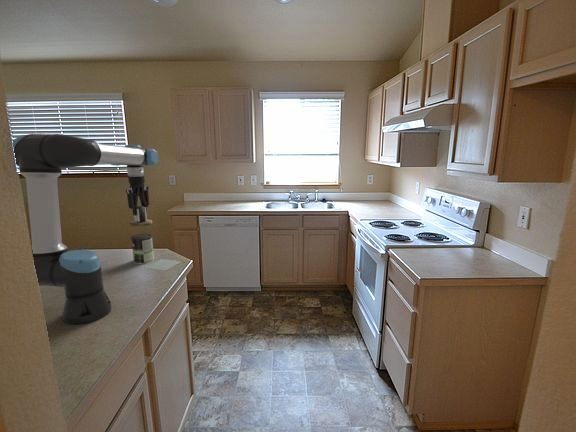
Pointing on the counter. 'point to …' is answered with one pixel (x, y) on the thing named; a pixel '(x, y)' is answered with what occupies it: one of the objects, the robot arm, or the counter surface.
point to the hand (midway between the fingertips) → (140, 220)
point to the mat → (163, 264)
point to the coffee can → (142, 248)
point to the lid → (141, 218)
